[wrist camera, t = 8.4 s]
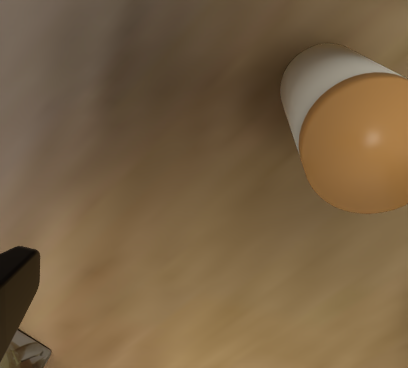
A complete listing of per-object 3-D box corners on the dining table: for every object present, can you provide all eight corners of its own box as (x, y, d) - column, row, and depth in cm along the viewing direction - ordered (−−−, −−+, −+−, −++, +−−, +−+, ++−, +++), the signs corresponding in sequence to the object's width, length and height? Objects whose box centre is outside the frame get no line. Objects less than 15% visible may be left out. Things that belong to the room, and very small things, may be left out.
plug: (381, 54, 17) (483, 97, 10) (348, 136, 19) (414, 226, 12) (294, 34, 17) (330, 64, 10) (270, 119, 19) (285, 197, 12)
